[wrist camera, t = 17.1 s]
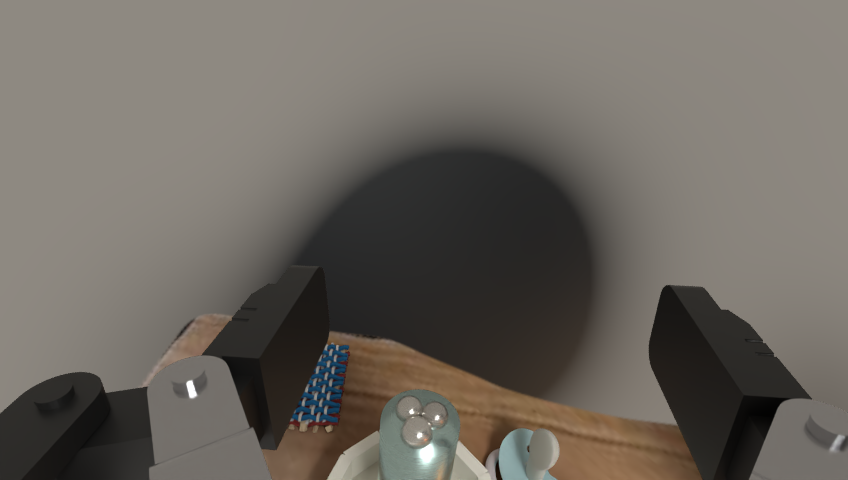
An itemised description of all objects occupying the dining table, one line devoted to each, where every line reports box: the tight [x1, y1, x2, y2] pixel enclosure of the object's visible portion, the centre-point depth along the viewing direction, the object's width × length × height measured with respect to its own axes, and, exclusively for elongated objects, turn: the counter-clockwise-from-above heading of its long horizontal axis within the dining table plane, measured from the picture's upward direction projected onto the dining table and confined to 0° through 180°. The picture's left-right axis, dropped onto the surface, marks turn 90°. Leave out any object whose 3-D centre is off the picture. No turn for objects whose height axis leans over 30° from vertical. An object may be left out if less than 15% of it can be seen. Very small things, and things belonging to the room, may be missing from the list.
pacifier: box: [485, 428, 559, 480], centre depth 40 cm, size 7×6×6 cm
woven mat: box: [288, 343, 350, 433], centre depth 48 cm, size 10×11×2 cm
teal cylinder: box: [378, 389, 460, 480], centre depth 33 cm, size 5×5×13 cm
